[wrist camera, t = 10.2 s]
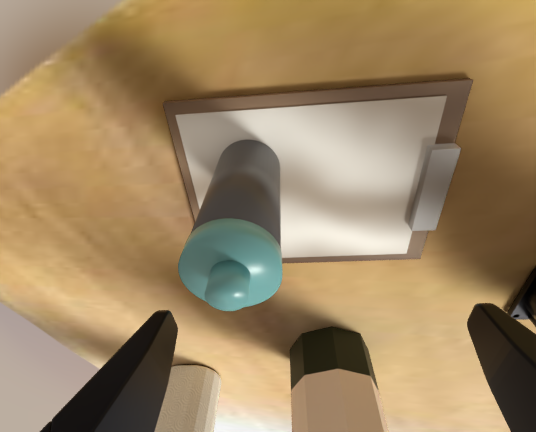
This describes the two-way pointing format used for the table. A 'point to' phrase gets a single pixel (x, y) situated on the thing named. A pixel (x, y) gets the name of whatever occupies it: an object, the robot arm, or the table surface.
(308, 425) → the wine bottle
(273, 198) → the water bottle
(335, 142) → the clipboard
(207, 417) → the paper towel roll
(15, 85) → the table surface
